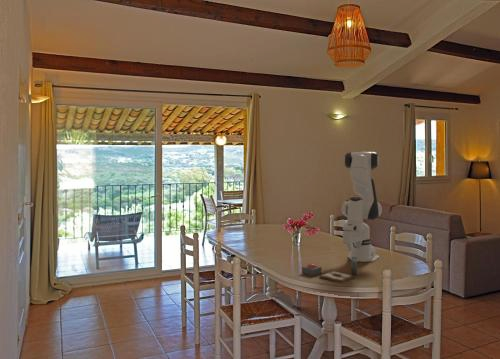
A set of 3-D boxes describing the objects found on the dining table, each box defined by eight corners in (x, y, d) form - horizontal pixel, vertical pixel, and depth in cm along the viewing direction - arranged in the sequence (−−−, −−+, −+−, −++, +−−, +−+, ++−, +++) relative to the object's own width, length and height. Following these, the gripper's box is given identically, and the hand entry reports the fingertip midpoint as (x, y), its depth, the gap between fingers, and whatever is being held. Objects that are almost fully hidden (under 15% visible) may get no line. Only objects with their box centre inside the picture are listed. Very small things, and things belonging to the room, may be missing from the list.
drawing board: (332, 272, 250) (332, 270, 250) (354, 277, 241) (354, 275, 241) (319, 277, 240) (319, 275, 240) (341, 283, 231) (341, 280, 231)
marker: (352, 273, 249) (353, 256, 248) (358, 274, 247) (358, 257, 246) (349, 274, 247) (350, 257, 246) (355, 276, 244) (355, 258, 244)
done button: (310, 268, 251) (311, 263, 251) (316, 269, 249) (316, 264, 248) (306, 269, 248) (307, 264, 248) (312, 270, 246) (312, 265, 245)
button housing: (310, 271, 254) (310, 264, 254) (321, 273, 249) (321, 266, 249) (302, 273, 248) (302, 266, 248) (313, 276, 243) (313, 269, 243)
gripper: (359, 223, 255) (358, 246, 255) (340, 226, 240) (340, 251, 240) (368, 224, 250) (368, 248, 251) (351, 228, 235) (350, 253, 236)
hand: (354, 249), depth 245 cm, fingers open, 8 cm apart
